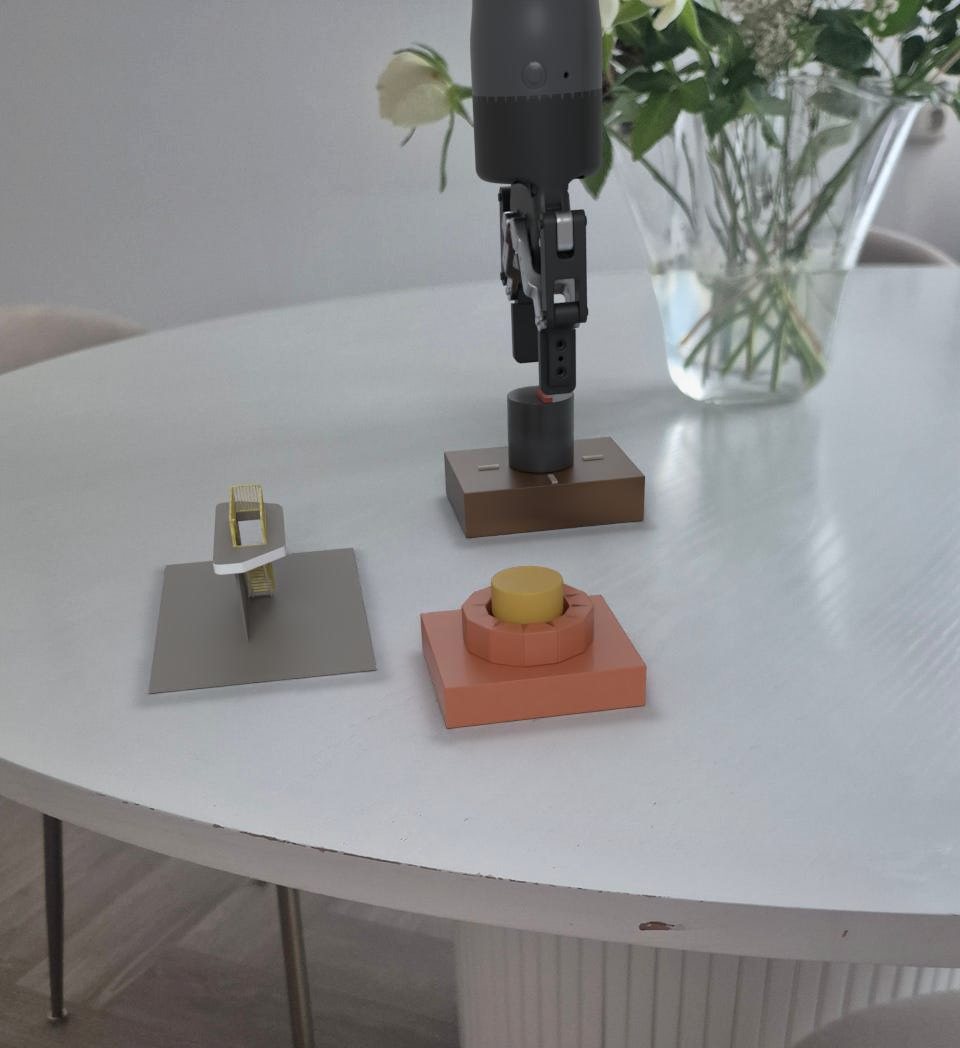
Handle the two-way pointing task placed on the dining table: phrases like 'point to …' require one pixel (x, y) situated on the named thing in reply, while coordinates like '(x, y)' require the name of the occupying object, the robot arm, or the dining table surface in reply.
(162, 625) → the platform
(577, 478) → the control panel
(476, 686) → the button box
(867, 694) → the dining table surface
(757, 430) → the dining table surface
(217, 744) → the dining table surface
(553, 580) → the button
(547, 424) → the dial knob
